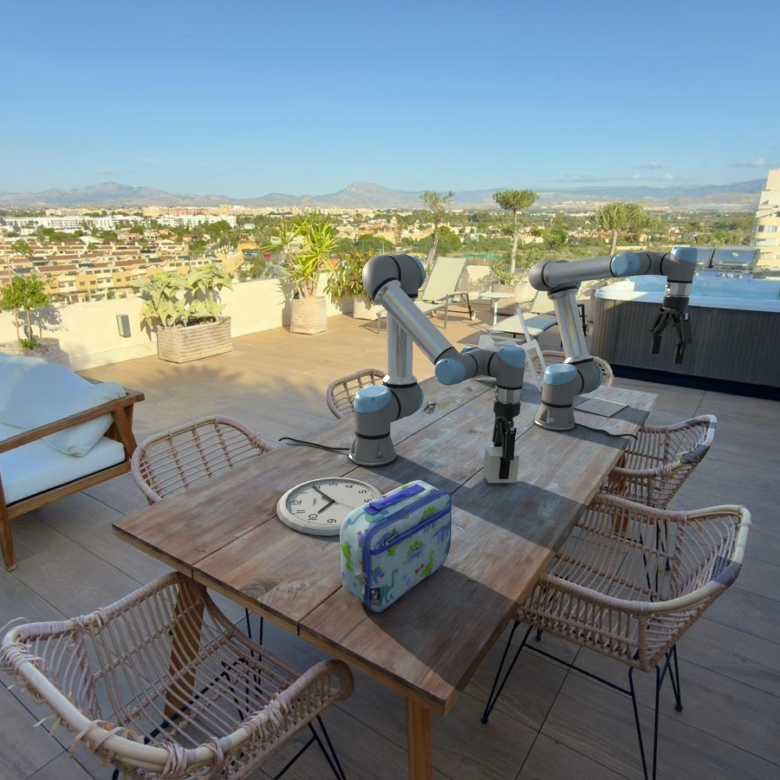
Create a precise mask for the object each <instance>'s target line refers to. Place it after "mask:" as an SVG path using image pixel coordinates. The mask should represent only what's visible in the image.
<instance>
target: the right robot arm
mask: <svg viewBox="0 0 780 780" xmlns="http://www.w3.org/2000/svg"><path fill="white" fill-rule="evenodd" d="M698 251H699V250H698V248H696V247H693V246H692V247H691V246H674V247H672V248H671V251H670V252H660V251H650V250H646V251H645V250H644V251H638V252H637V251H636V252H631V251H624V252H620V253H618V254H612V255H611V254H610V255H605V256H598V257H597V256H596V257H592V258H584V259H578V260H566V259H565V260H564V259H560V260H542V261H538V262H536V263H534V264H533V265H532V266H531V268H530V269H529V271H528V276H527V278H528V282H529V285H530V286H531V287H532V288H533V289H534V290H535V291H539V292H546V294H547V299H549V300H551V301H552V304H553V308H554V313H555V318H556V322H557V328H558V331H559V336H560V340H561V344H562V348H563V352H564V357H565V359H564V361H563V362H562V363H554V364H553V363H552V364H550V365H548V366H546V367H547V368H546V370H545V374H544V373H543V374H544V375H543V381H542V382H543V383H542V390H541V391H542V394H541V402H540V405H539V407H538V410H537V411H536V413H535V417H534V424H535V425H536V426H537V427H539V428H542V429H544V430H549V431H556V432H567V431H572V430H574V429H575V428H576V426H577V427H581V428H583V429H587V430H589V431H594V432H599V433H604V434H606V435H607V436H608V437H611V438H622V437H632V438H634V439H635V440H639V438H638V436H636V435H635V434H632V433H622V434H621V433H620V434H612V433H609V431H607V430H606V429H598V428H593V427H591V426H588V425H584V424H582V423H577V422H576V418H575V417H576V416H575V413H574V407H573V405H574V398H575V397H577V396H581V395H585V394H586V395H587V394H590V393H592V392H594V391H596V390H598V389H599V388H600V386H601V385H602V383H603V380H604V373H603V369H602V367H601V366H600V365H598V364H597V363H596V362H595V360H594V357H593V356H592V355H591V354H589V352H588V347H587V343H586V339H585V335H584V330H583V326H582V321H581V316H580V312H579V308H578V304H577V303H578V302H577V298H576V294H577V293H578V285H579V283H581V282H591V281H599V280H607V279H617V278H625V277H627V278H628V277H636V276H637V277H639V276H663V277H666V283H665V289H664V294H665V295H664V296H663V299H662V307H658V311H657V314H656V315H655V318H654V321H653V322H652V324H651V326H650V328H649V333H651V335H652V339H651V346H650V355H659V354H660V349H661V343H662V337H663V336H662V335H663V332H664V331H665V329H666V328H667V327H668V326H669V325H671V326H672V327H673V328H674V332H675V335H676V338H677V343H676V344H675V345H676V346H675V350H674V357H673V361H672V363H673V364H675V365H676V364H677V365H683V362H684V357H685V354H686V349H687V345H691V344H692V343H693V336H692V328H691V327H692V326H691V313H689V312H685V310H686V309H688V308H689V304H690V297H689V296H690V295H691V294H692V288H693V282H694V281H693V280H694V275H695V271H696V266H697V263H698Z"/></svg>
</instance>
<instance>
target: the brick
mask: <svg viewBox="0 0 780 780" xmlns="http://www.w3.org/2000/svg"><path fill="white" fill-rule="evenodd" d="M484 447H485V448H484V458H483V468H482V474H483V477H484V478H485V479H486V481H487V483H488V484H515V483H517V481H518V471H519V463H520V454H519V453H518V452H517V450H516V449H514V460H510V469H509V478H508V479H499V471H500V461H501V460H500V457H502V447H494V446H484Z"/></svg>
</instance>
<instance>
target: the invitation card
mask: <svg viewBox="0 0 780 780" xmlns="http://www.w3.org/2000/svg"><path fill="white" fill-rule="evenodd" d="M628 406H629V404H627V403H623V402H618V401H614V400H609V399H605V398H601V397H596V396H593V397H592V398H590V399H588V400H586V401H584V402H582V403H580V404H578V405H575V406H574V407H573V409H575V410H581V411H584V412H587V413H593V414H596V415H600V416H604V417H608V418H609V417H611V416H613V415H614V414H616V413H617V412H619V411H621V410H623V409H624V408H626V407H628Z"/></svg>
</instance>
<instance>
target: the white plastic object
mask: <svg viewBox="0 0 780 780" xmlns="http://www.w3.org/2000/svg"><path fill="white" fill-rule="evenodd" d="M516 312H517V315H518V318H519V322H520V325H521V328H522V331H523V333H524V337H525V339H526V340H525V341H526V342H524V343H523V344H517V343H516V340H515V339H514V338H510V339H506V340H505V339H504V340H500V341H496V342H495V341H494V339H493V338H491V336H490V335H489V334H480V335H479V339H478V345H477V347H478V348H481V349H486V350H491V351H496V352H499V349H500V348H501V347H503V346H515V347H520V348H522V349H524V350H525V352H526V358H525V360H526V362H527V365H528V368H529V372H530V375H531V378H532V380H533V383H534V386H535V387H536V389H537V390H538V391H539V392H540V393H541V391H542V388H541V384H540V382H539V378H538V375H537V372H536V369H535V366H534V363H533V361H532V358H531V356H533V355H536V354H537V356H538V360H539V362H540V366H541V369H542V371H543V374H545V370H546V368H547V367H548V366H547V364H546V361H545V358H544V355H543V352H542V350H541V346H540V344H539V342H538V340H537V339H532V338H531V336H530V335H531V334H530V332H529V330H528V327H527V323H526V320H525V318H524V315H523V311H522V310H521V308H520V307H517V308H516ZM481 378H482V379H483V378H490V377H489V376H484V375H479V376H476V377H473V378H471V380H474V379H481Z"/></svg>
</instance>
